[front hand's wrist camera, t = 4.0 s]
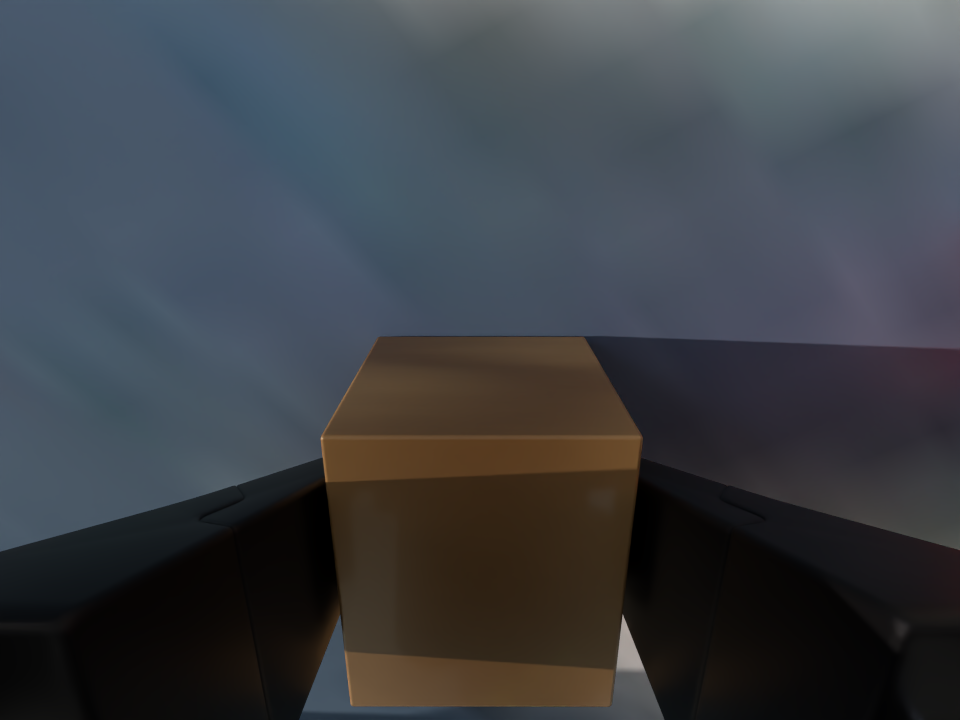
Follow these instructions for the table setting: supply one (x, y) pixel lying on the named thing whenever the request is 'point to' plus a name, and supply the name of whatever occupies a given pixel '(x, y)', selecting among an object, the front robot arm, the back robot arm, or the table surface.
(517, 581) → the brown block
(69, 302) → the table surface
